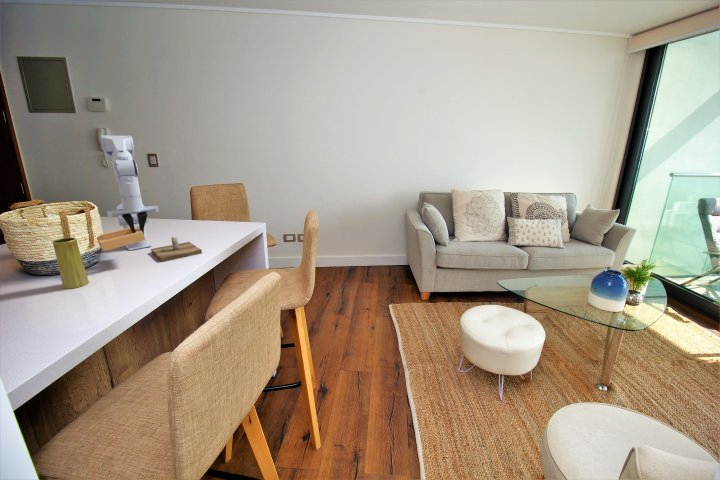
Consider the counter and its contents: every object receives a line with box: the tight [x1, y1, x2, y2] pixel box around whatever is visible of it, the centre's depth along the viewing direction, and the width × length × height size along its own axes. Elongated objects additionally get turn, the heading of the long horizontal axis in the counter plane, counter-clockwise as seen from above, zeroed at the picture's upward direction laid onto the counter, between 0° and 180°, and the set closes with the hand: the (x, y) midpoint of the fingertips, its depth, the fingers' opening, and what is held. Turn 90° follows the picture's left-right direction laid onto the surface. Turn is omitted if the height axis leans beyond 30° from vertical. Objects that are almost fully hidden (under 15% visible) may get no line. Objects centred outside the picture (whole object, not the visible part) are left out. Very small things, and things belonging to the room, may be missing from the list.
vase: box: [52, 237, 90, 290], centre depth 95 cm, size 6×6×14 cm
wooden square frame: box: [96, 226, 145, 252], centre depth 111 cm, size 12×12×3 cm
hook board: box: [150, 236, 203, 263], centre depth 124 cm, size 14×14×6 cm
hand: (138, 234), depth 113 cm, fingers closed on wooden square frame, 2 cm apart
